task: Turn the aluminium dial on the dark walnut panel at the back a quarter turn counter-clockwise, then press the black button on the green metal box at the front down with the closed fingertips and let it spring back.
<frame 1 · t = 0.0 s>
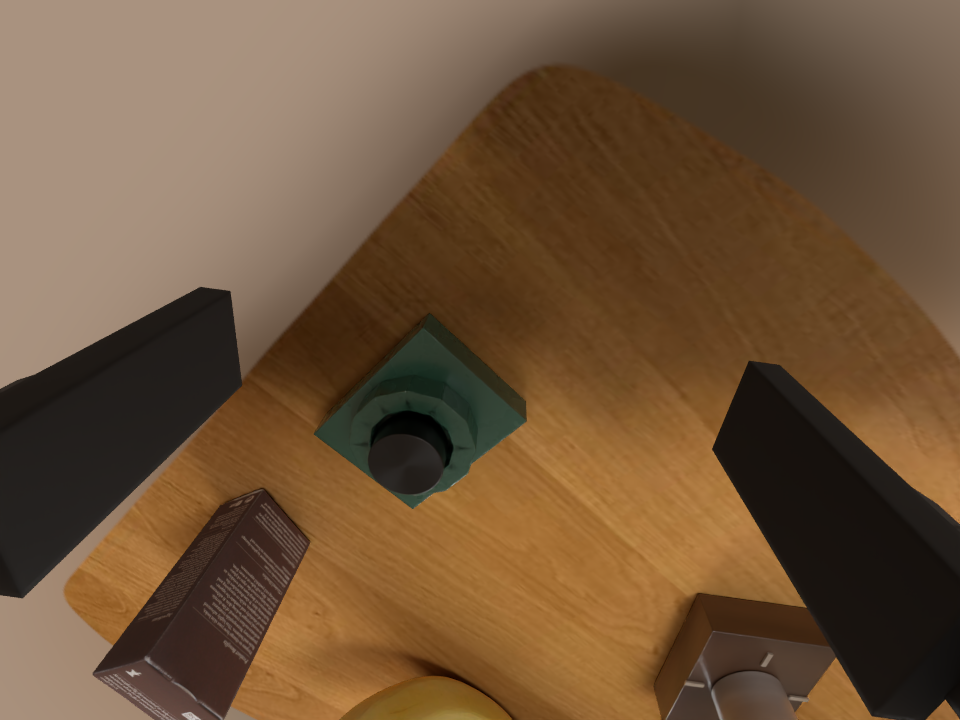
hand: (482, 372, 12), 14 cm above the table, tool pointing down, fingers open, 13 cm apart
button box: (423, 407, 30), on the table
dial panel: (729, 650, 38), on the table
banana: (456, 685, 43), on the table
box: (267, 521, 36), on the table
button: (409, 453, 26), point 5 cm above the table, slide at 0.1 cm
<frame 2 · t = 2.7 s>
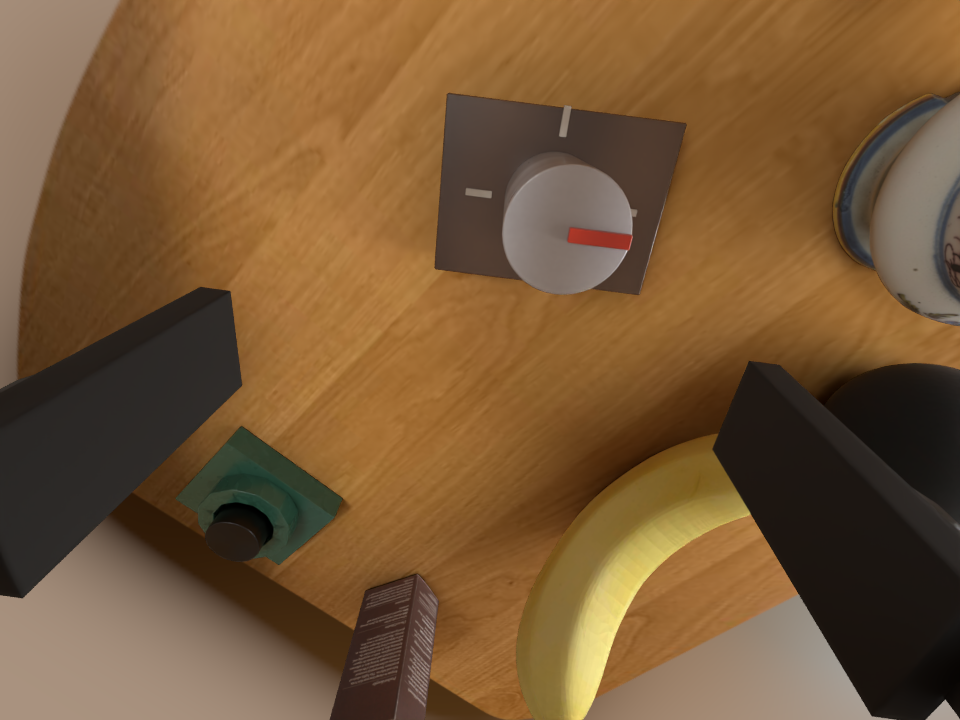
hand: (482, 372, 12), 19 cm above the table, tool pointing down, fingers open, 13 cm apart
button box: (267, 489, 40), on the table
dial panel: (547, 194, 28), on the table
apothecary jar: (922, 185, 27), on the table
banana: (628, 487, 38), on the table
box: (404, 593, 45), on the table
dial: (557, 215, 22), point 7 cm above the table, hinge at 0.0°
button: (239, 532, 36), point 5 cm above the table, slide at 0.1 cm
decorative ball: (859, 401, 34), on the table
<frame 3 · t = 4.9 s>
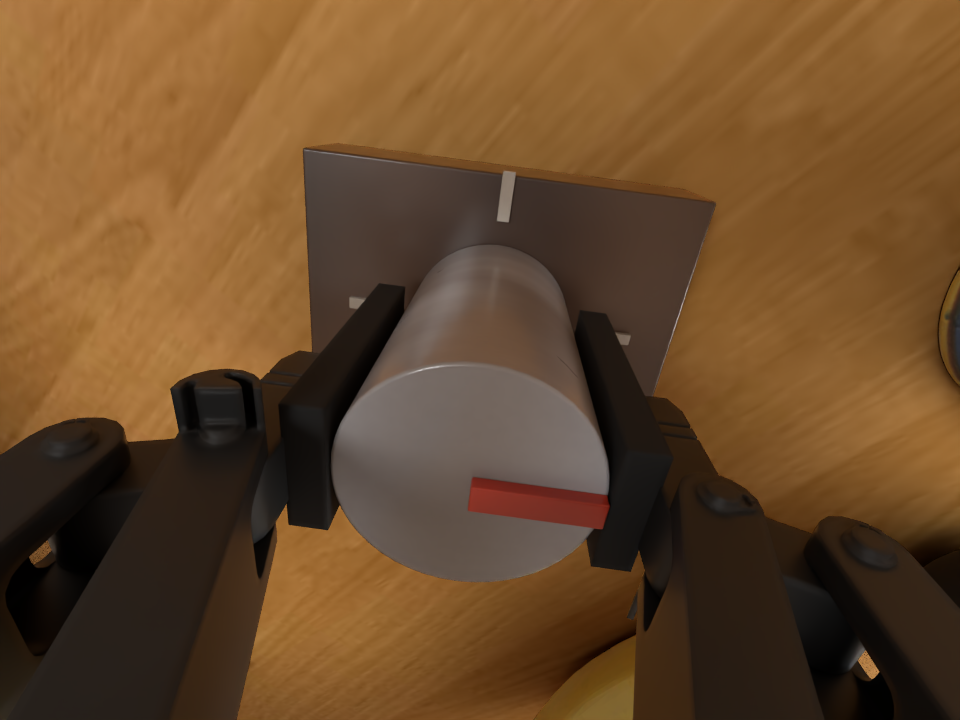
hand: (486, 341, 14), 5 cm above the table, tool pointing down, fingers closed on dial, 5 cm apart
dial panel: (493, 290, 18), on the table
banana: (620, 656, 28), on the table
dial: (481, 382, 12), point 7 cm above the table, hinge at 0.0°, touching gripper
decorative ball: (951, 568, 23), on the table
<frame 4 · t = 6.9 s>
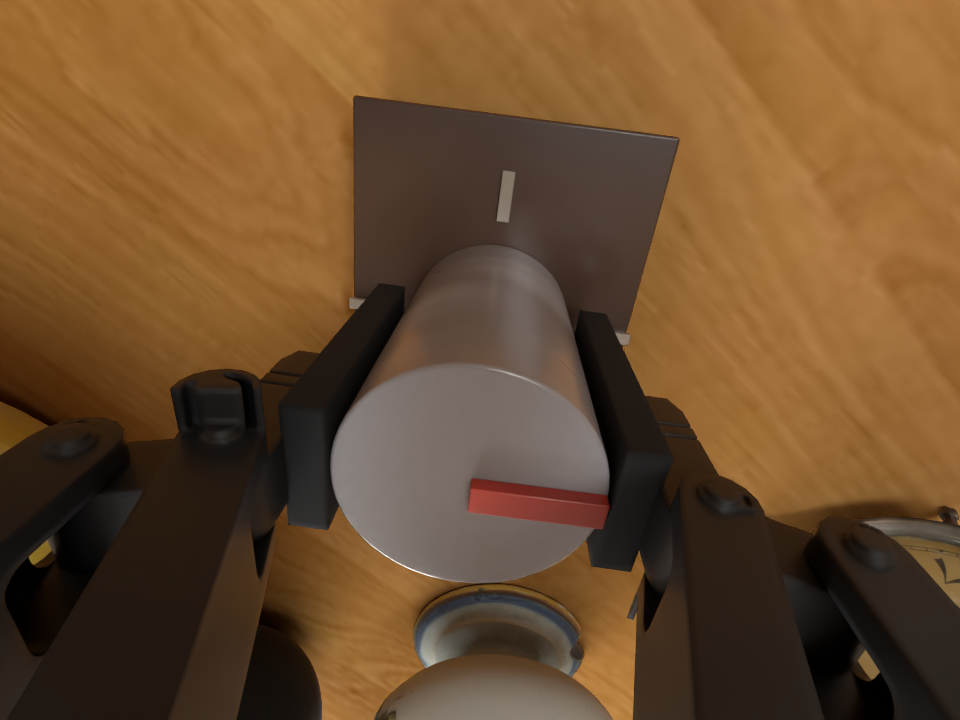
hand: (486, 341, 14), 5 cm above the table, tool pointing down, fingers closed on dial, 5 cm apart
dial panel: (493, 290, 18), on the table
apothecary jar: (498, 637, 28), on the table
banana: (36, 432, 23), on the table
dial: (481, 382, 12), point 7 cm above the table, hinge at 90.5°, touching gripper
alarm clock: (839, 536, 23), on the table
decorative ball: (266, 636, 29), on the table
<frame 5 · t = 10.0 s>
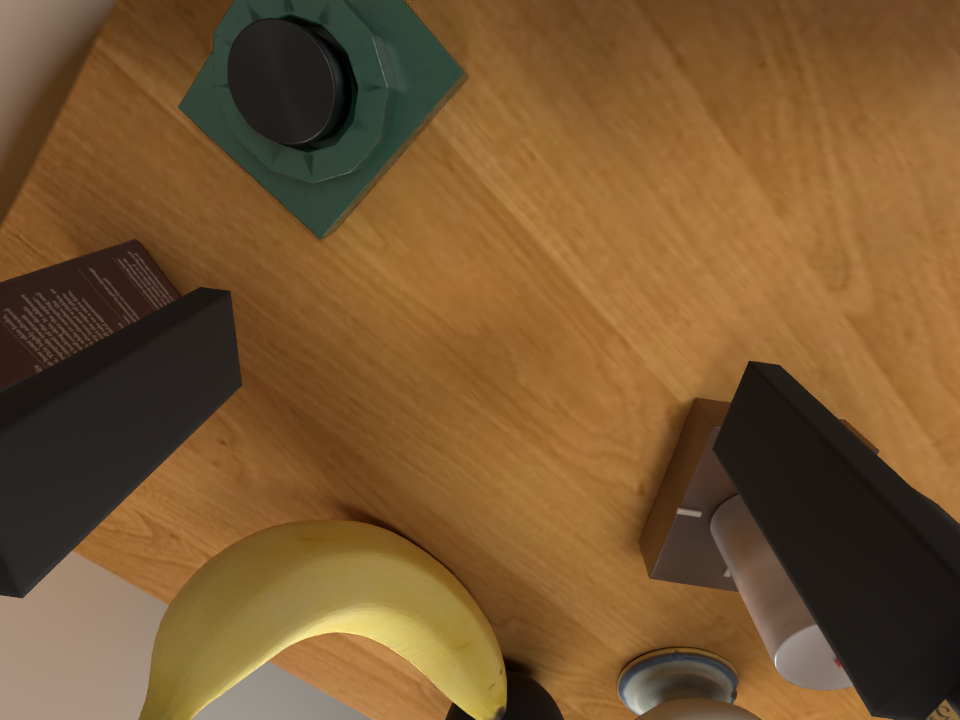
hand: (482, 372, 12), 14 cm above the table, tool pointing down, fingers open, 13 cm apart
button box: (333, 93, 22), on the table
dial panel: (733, 486, 31), on the table
apothecary jar: (675, 681, 40), on the table
banana: (400, 548, 36), on the table
box: (148, 298, 28), on the table
dial: (790, 582, 24), point 7 cm above the table, hinge at 90.8°
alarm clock: (922, 623, 36), on the table
button: (292, 86, 18), point 5 cm above the table, slide at 0.1 cm
decorative ball: (506, 677, 42), on the table
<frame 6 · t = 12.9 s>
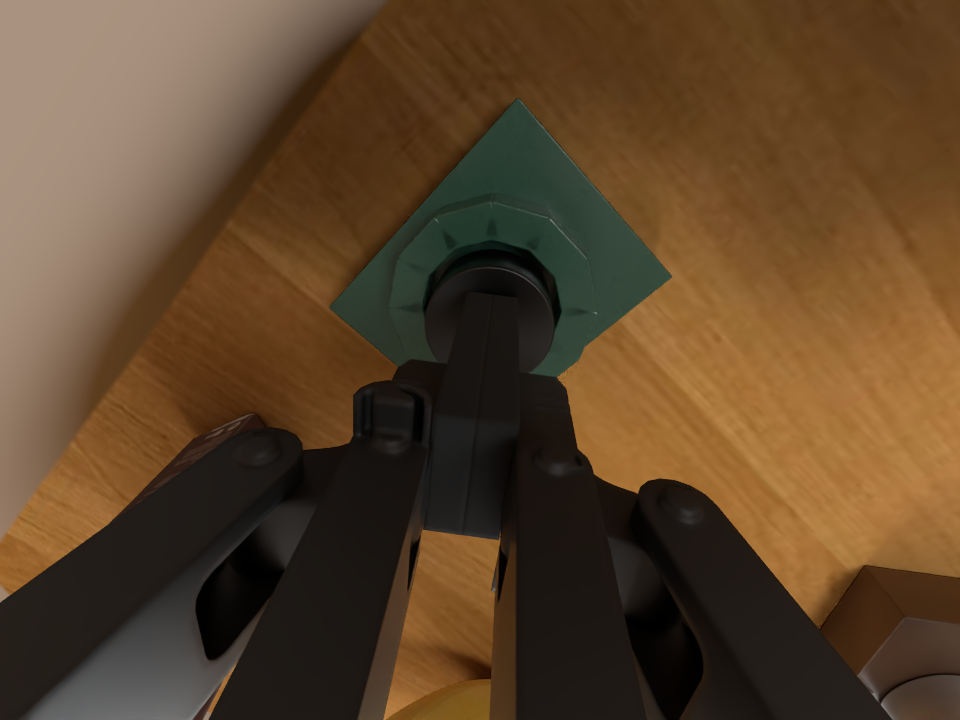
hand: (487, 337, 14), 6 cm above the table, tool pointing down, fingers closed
button box: (495, 275, 20), on the table
dial panel: (891, 645, 28), on the table
banana: (509, 691, 33), on the table
box: (260, 464, 25), on the table
button: (490, 317, 16), point 5 cm above the table, slide at 0.1 cm, touching gripper
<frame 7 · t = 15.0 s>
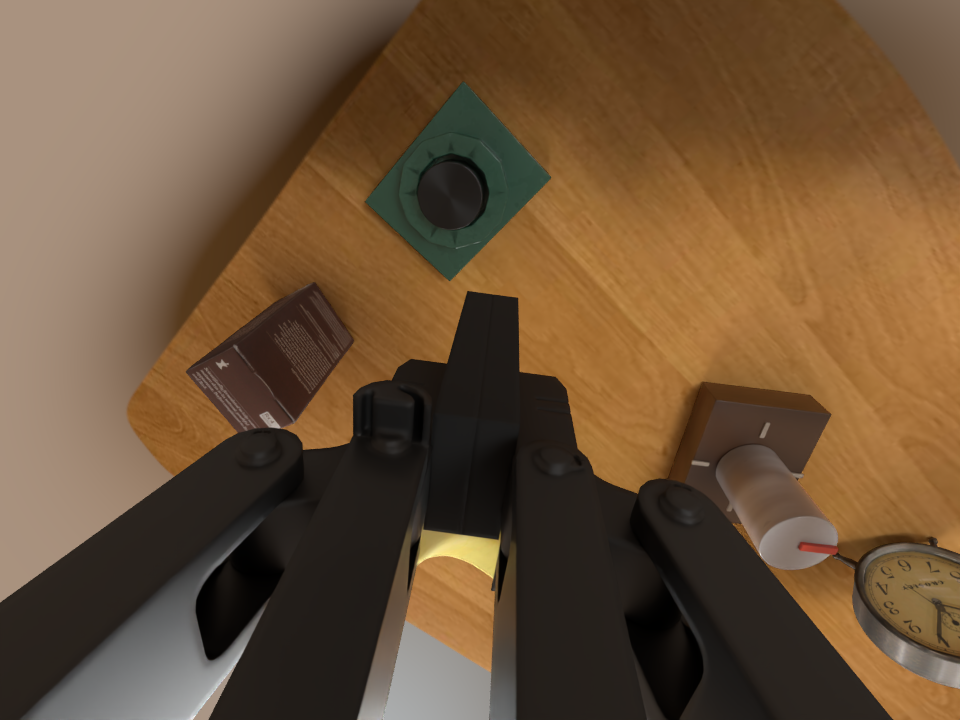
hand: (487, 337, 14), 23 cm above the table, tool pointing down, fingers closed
button box: (459, 186, 34), on the table
dial panel: (731, 446, 42), on the table
banana: (482, 503, 47), on the table
box: (316, 321, 40), on the table
dial: (771, 504, 36), point 7 cm above the table, hinge at 90.8°
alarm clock: (880, 551, 47), on the table
button: (451, 194, 30), point 5 cm above the table, slide at 0.1 cm
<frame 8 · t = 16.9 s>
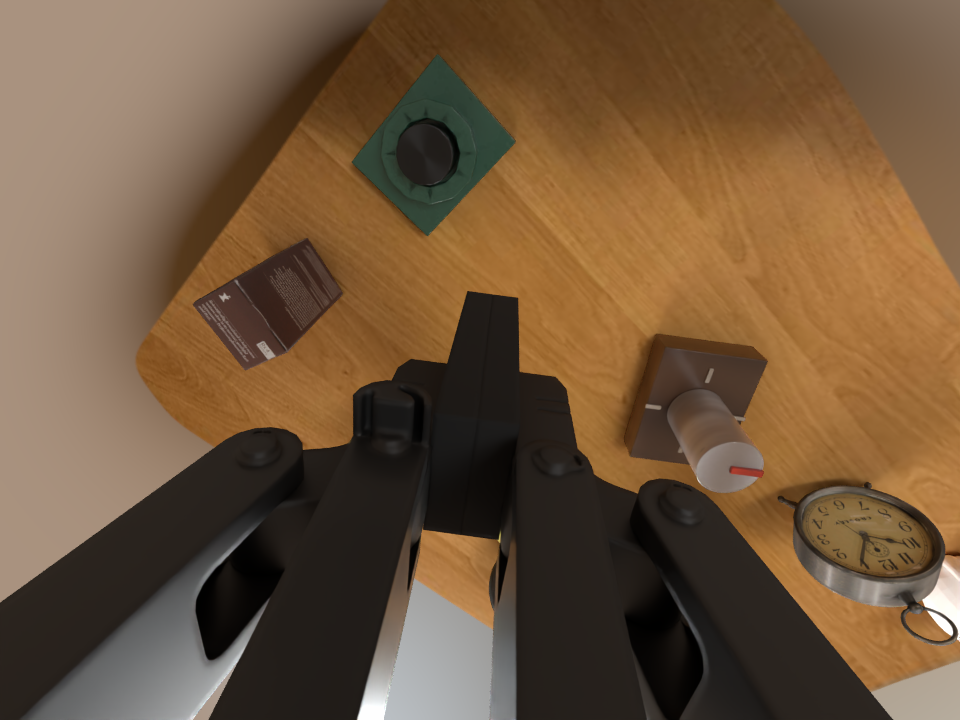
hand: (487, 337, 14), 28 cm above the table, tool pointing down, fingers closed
button box: (436, 150, 38), on the table
dial panel: (684, 395, 47), on the table
box: (308, 275, 44), on the table
dial: (711, 438, 40), point 7 cm above the table, hinge at 90.8°
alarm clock: (821, 496, 51), on the table
button: (426, 154, 34), point 5 cm above the table, slide at 0.1 cm
cat figurine: (947, 570, 55), on the table
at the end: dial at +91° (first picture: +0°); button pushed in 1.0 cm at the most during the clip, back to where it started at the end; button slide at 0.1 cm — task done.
